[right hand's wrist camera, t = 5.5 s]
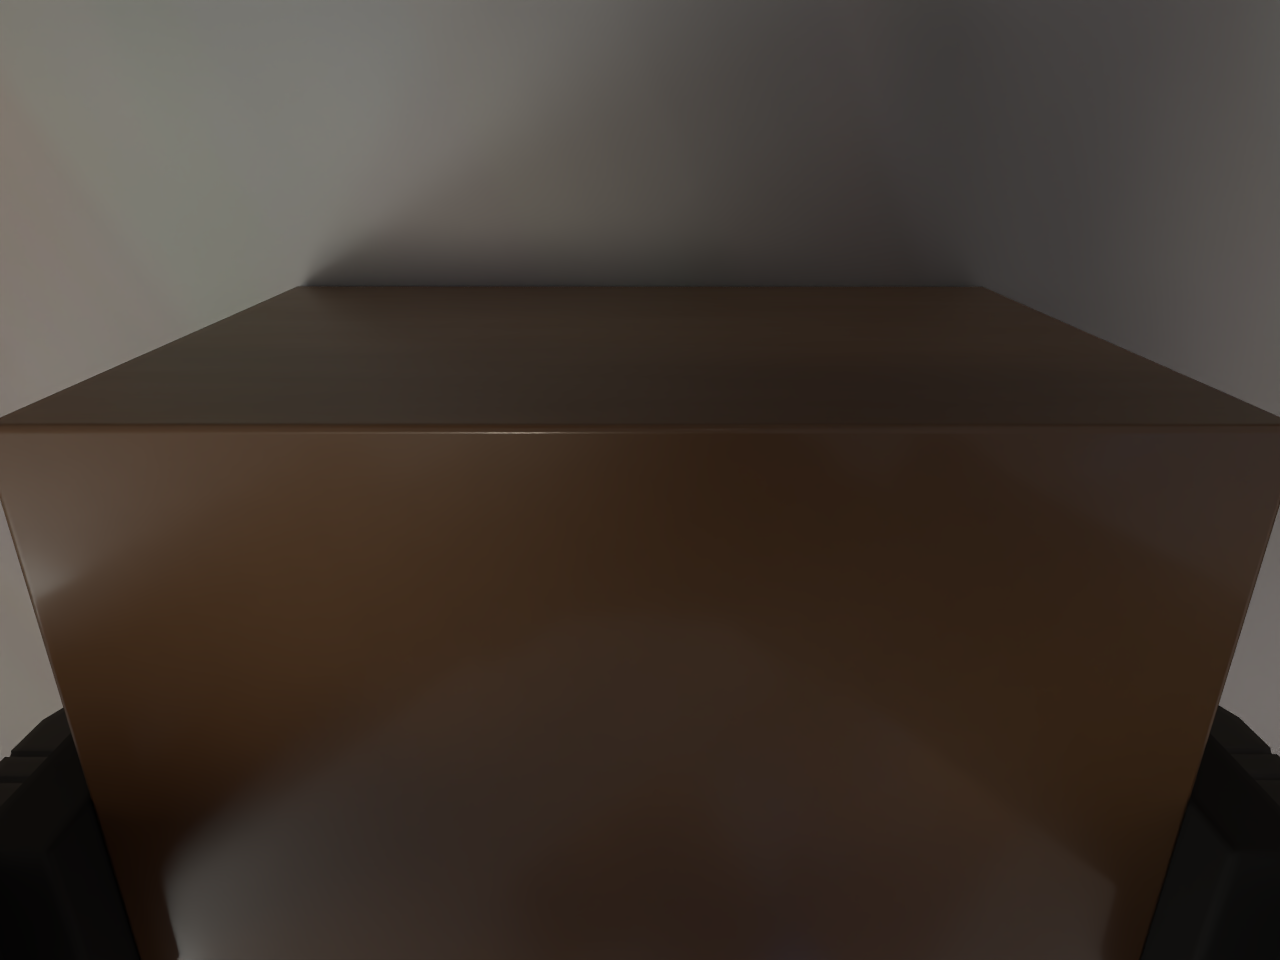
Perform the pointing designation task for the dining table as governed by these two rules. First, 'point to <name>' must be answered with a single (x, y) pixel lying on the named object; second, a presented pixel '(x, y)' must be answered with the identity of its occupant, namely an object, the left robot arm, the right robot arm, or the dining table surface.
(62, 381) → the dining table surface
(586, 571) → the thick board
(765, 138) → the dining table surface
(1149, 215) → the dining table surface
